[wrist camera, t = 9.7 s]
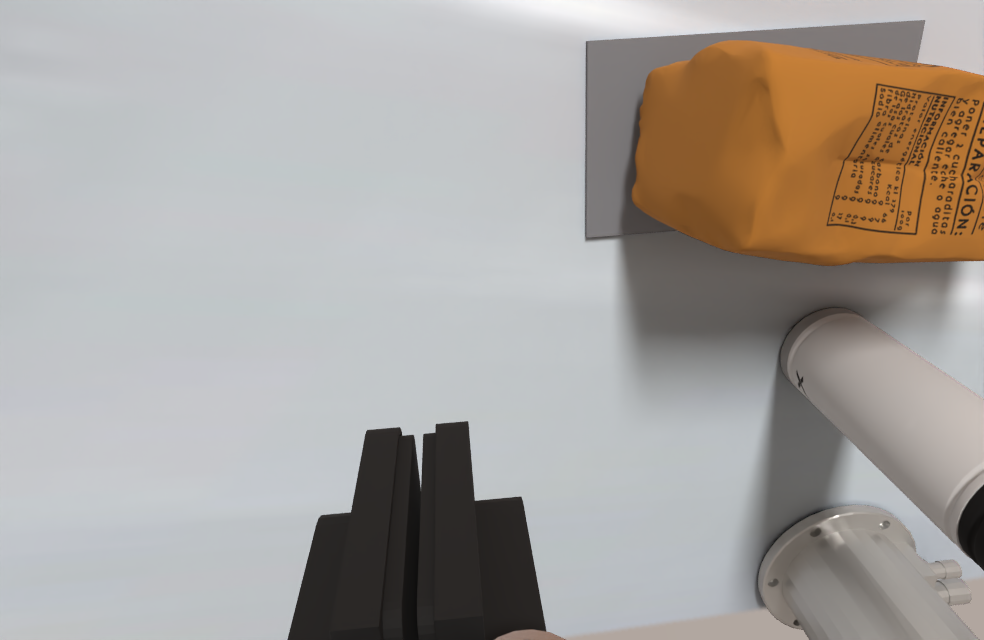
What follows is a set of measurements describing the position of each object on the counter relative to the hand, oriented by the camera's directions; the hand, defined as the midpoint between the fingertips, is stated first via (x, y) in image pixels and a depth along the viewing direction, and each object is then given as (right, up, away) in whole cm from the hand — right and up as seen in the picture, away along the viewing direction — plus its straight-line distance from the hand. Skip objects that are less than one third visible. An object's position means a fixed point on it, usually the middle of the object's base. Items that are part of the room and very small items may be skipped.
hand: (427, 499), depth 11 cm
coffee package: (+10, +11, +20) cm, 25 cm away
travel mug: (+24, +1, +34) cm, 42 cm away
